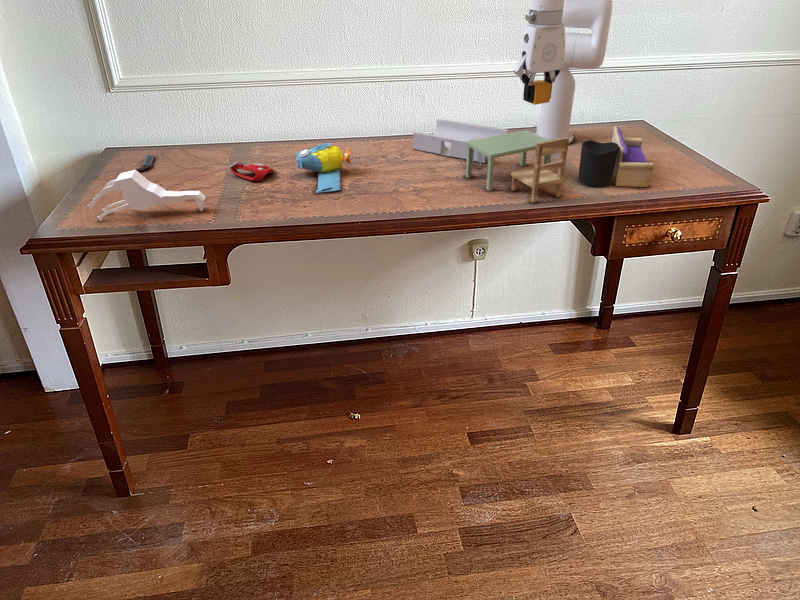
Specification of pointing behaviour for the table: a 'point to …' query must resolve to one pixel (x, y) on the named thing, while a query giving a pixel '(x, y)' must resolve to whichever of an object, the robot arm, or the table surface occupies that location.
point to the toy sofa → (630, 162)
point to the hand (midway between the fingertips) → (536, 99)
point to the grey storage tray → (454, 139)
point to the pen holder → (597, 163)
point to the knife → (146, 163)
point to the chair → (544, 168)
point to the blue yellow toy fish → (324, 165)
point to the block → (541, 92)
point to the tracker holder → (256, 168)
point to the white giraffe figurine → (144, 194)
